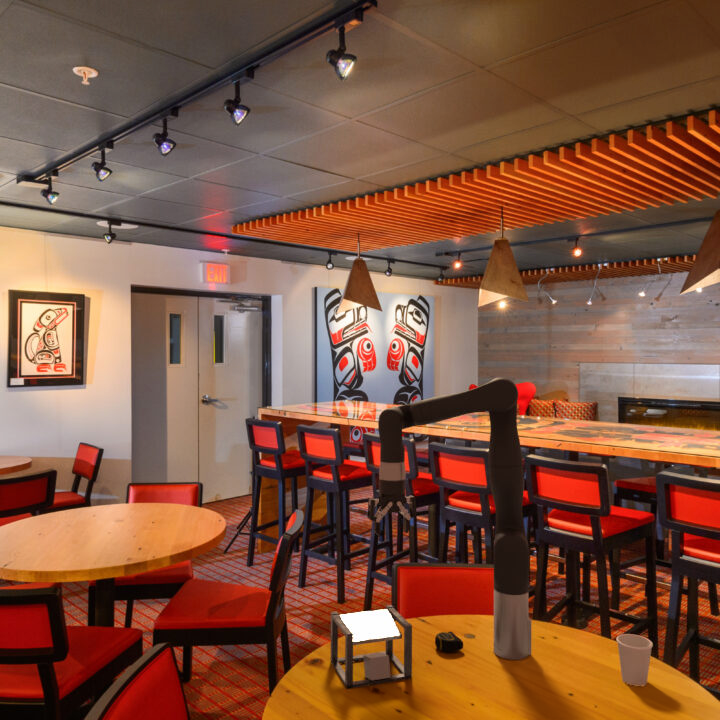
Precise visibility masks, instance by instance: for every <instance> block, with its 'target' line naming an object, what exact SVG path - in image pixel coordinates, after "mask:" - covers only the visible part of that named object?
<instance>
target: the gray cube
mask: <svg viewBox="0 0 720 720" xmlns="http://www.w3.org/2000/svg"><path fill="white" fill-rule="evenodd" d="M374 653H375V654H371V653H367V654H368V655H364V654H363V655H364V660H363V667H364V668H363V669H364V677H365V678H366V679H370V680H371V681H372V680H378V679H384V678H390V677H391V666H390V665H391V664H390V659H389V655H387V654H384V653H377V652H374Z"/></svg>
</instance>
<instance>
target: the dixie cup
mask: <svg viewBox="0 0 720 720" xmlns="http://www.w3.org/2000/svg"><path fill="white" fill-rule="evenodd" d="M616 642H617V649H618V656H619V665H620V674H621V680H622V679H623V680H622V682H623V683H625V682H626V683H628V684H627V685H629V684H631V685H636V686H637V685H638V686H642V685H645V684H646V683H647V684H648V676H649V671H650V670H649V669H650V663H651V655H652V648H653V647H654V644H653V642H652V641H651V640H650V639H648V638H646V637H645V636H642V635H638V634H631V633H621V634H619V635H617V637H616ZM626 683H625V684H626ZM647 684H646V685H647ZM631 685H630V686H631ZM646 685H645V686H646ZM636 686H635V687H636ZM642 687H643V686H642Z"/></svg>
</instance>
